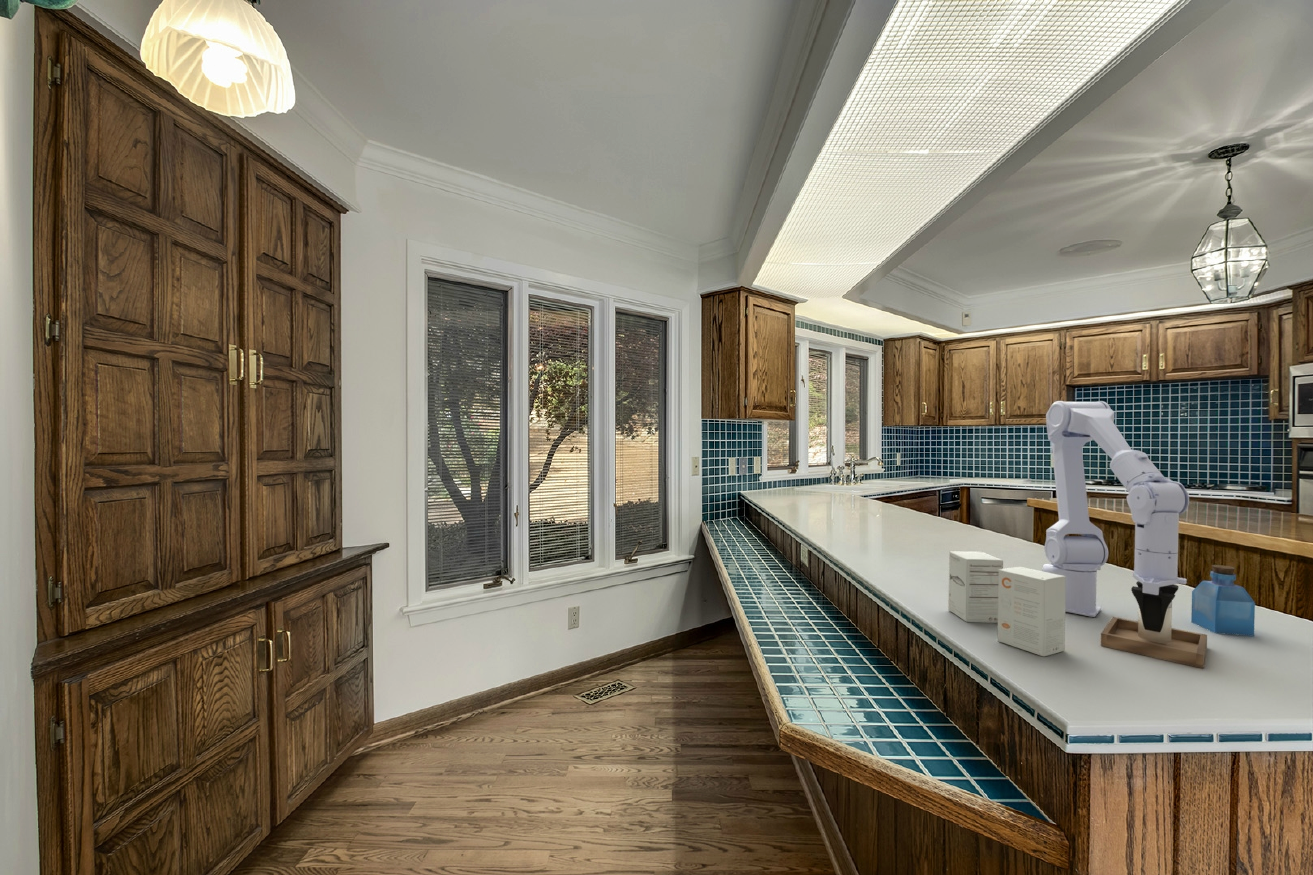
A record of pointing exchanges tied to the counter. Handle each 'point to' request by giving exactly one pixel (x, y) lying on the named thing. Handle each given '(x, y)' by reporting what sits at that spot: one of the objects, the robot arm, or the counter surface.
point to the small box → (1031, 610)
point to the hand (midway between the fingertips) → (1154, 627)
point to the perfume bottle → (1223, 604)
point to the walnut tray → (1156, 643)
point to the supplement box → (974, 586)
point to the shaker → (1157, 636)
